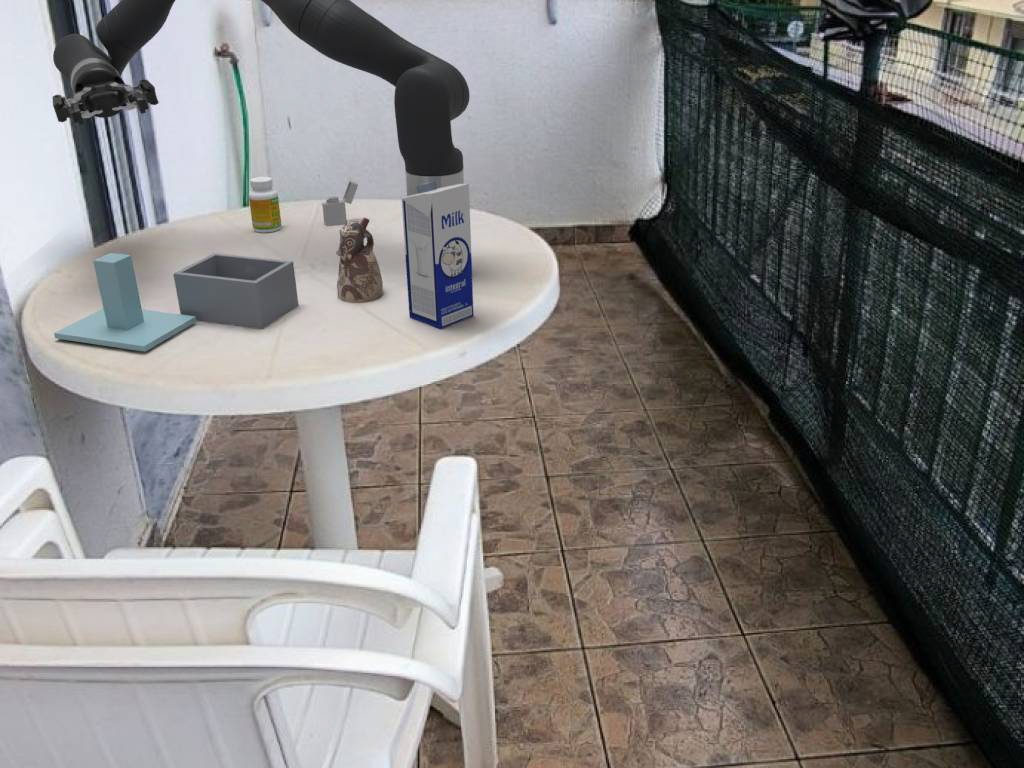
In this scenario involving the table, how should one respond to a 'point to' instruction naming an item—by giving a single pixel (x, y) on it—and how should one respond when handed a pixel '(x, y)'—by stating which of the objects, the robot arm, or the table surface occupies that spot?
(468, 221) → the milk carton
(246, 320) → the tub
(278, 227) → the supplement bottle
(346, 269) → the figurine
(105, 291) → the lid
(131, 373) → the table surface
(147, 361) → the table surface
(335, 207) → the lighter
